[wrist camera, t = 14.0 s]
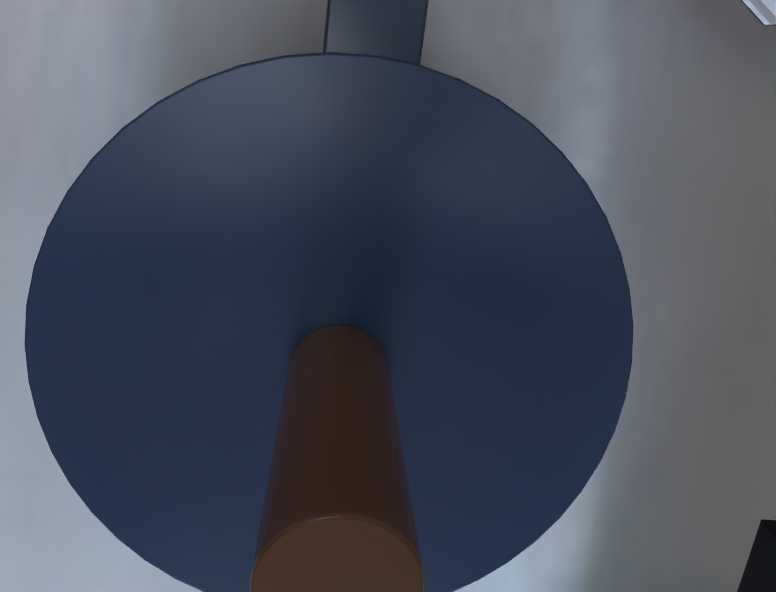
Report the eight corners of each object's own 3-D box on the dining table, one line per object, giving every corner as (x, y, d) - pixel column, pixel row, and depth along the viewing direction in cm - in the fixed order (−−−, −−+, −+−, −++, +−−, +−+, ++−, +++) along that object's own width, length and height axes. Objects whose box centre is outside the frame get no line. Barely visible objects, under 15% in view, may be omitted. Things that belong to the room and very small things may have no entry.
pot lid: (677, 98, 18) (1013, 118, 9) (556, 602, 22) (699, 947, 13) (37, 11, 16) (-330, -71, 7) (48, 573, 20) (-169, 942, 12)
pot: (566, 27, 25) (692, -1, 16) (477, 499, 31) (533, 671, 22) (158, -32, 24) (47, -99, 15) (144, 475, 30) (59, 649, 21)
